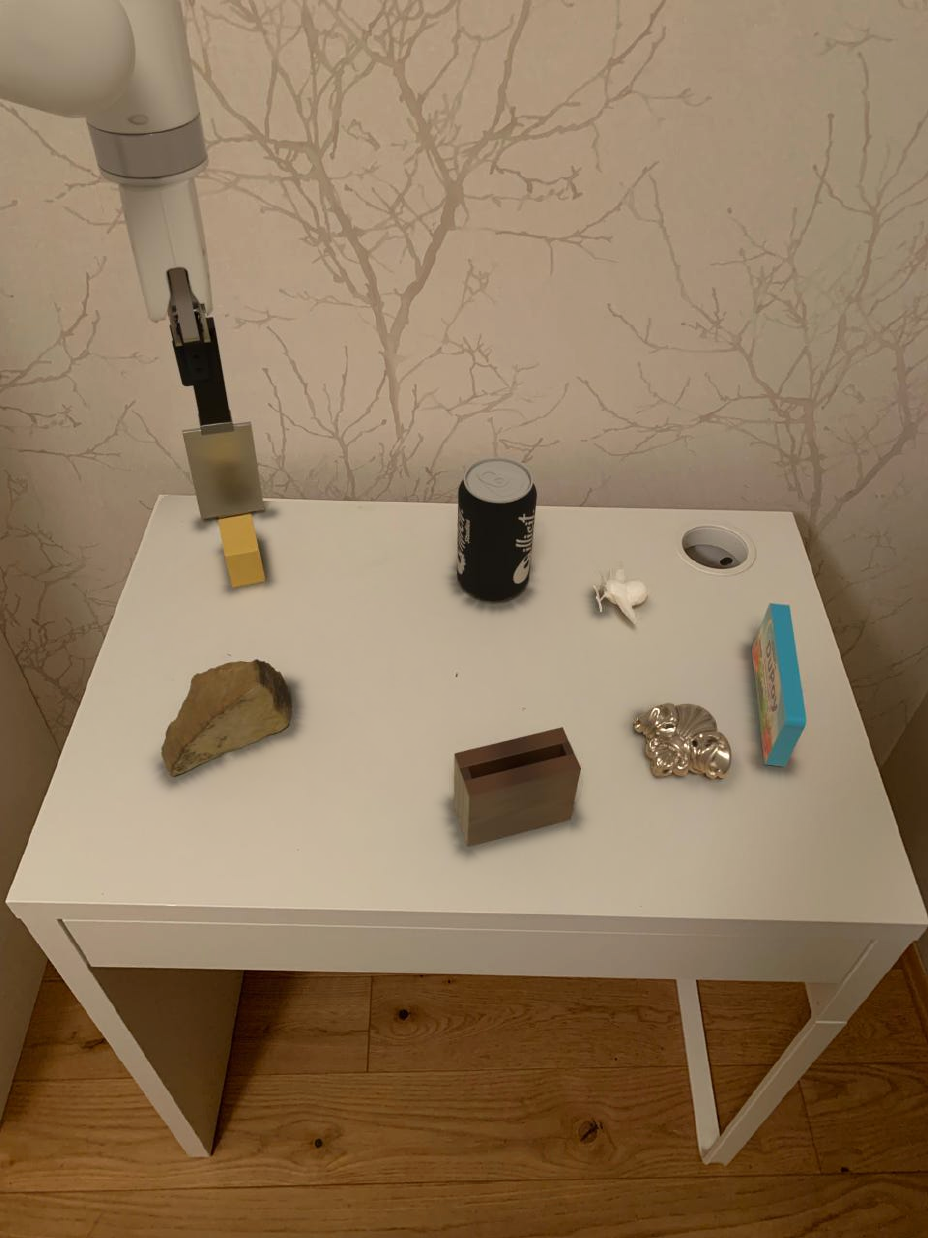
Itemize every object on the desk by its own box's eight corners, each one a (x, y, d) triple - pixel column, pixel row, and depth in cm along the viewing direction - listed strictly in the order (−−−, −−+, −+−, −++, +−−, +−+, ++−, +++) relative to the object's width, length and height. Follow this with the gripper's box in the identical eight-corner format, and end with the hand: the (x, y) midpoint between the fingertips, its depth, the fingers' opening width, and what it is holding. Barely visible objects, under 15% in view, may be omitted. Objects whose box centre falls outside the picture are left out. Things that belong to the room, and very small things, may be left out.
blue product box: (783, 769, 71) (807, 722, 66) (764, 767, 71) (786, 720, 66) (769, 651, 79) (789, 602, 74) (751, 649, 79) (770, 600, 74)
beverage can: (500, 617, 81) (507, 515, 72) (442, 584, 83) (442, 481, 74) (542, 575, 84) (553, 473, 75) (485, 545, 87) (489, 443, 78)
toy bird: (660, 631, 79) (649, 597, 76) (608, 646, 80) (595, 612, 77) (642, 566, 84) (632, 531, 81) (594, 580, 85) (581, 546, 82)
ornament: (608, 754, 71) (615, 727, 69) (655, 700, 75) (663, 673, 72) (698, 813, 68) (708, 787, 65) (742, 754, 71) (754, 727, 69)
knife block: (467, 847, 66) (469, 796, 61) (453, 805, 68) (454, 752, 63) (570, 820, 67) (581, 768, 62) (554, 779, 70) (562, 726, 64)
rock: (144, 797, 65) (281, 775, 65) (116, 683, 64) (256, 660, 64) (187, 746, 76) (305, 727, 76) (164, 647, 74) (284, 628, 74)
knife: (202, 524, 87) (160, 333, 72) (200, 510, 88) (158, 321, 73) (265, 514, 88) (237, 326, 74) (262, 501, 90) (234, 313, 75)
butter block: (232, 588, 83) (224, 556, 80) (225, 551, 86) (218, 519, 83) (265, 581, 83) (259, 549, 80) (257, 545, 86) (251, 513, 83)
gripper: (90, 106, 67) (148, 332, 81) (96, 195, 57) (161, 436, 71) (193, 98, 69) (233, 321, 83) (217, 183, 59) (258, 421, 73)
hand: (200, 372), depth 77 cm, fingers closed on knife, 1 cm apart
